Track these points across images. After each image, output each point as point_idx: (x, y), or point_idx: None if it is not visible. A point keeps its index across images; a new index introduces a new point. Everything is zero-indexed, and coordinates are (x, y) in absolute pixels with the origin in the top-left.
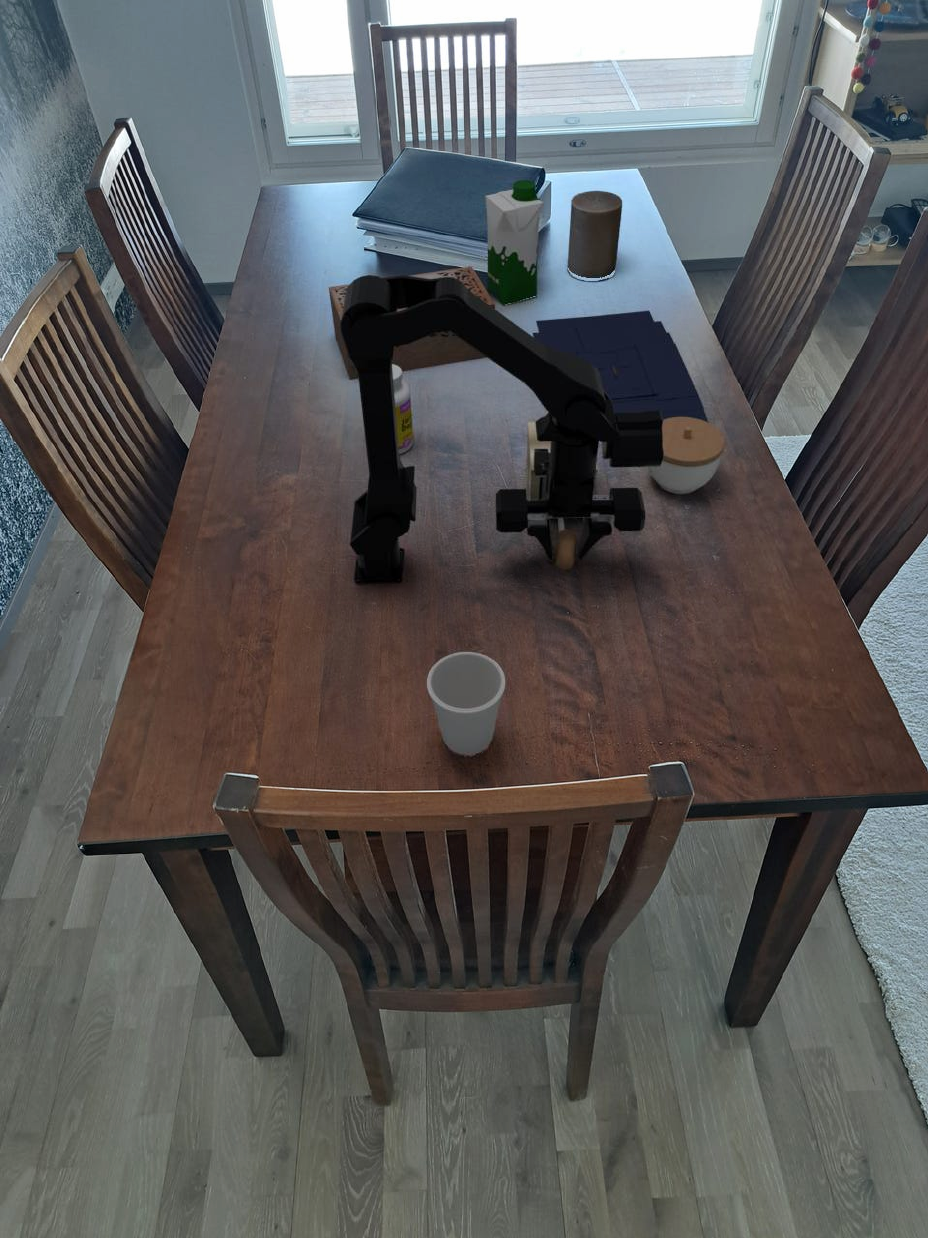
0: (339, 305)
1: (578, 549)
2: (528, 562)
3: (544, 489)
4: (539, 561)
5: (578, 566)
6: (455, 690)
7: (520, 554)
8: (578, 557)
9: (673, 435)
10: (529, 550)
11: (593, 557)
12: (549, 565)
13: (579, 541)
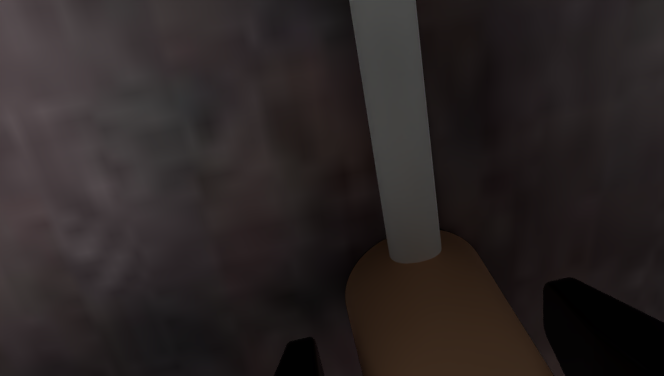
0: None
1: (579, 337)
2: (124, 340)
3: None
4: (211, 312)
5: (519, 291)
6: None
7: (20, 277)
8: (551, 335)
9: None
10: (84, 215)
11: (646, 178)
12: (299, 330)
13: (631, 364)
